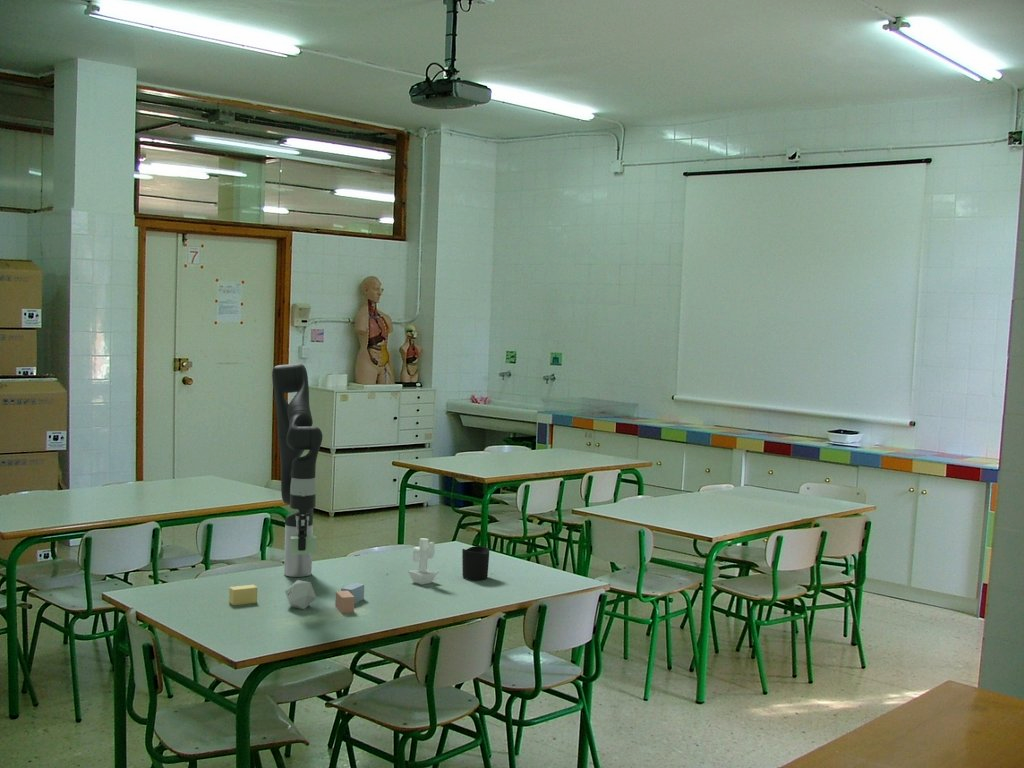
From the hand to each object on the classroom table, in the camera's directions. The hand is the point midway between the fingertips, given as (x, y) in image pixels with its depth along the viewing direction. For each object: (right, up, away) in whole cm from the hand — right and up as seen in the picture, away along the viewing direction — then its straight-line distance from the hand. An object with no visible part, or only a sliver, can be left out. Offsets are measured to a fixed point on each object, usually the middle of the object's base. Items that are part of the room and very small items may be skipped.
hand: (301, 548), depth 302 cm
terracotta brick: (+13, -19, 0) cm, 23 cm away
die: (-1, -18, +1) cm, 18 cm away
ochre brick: (-19, -17, +4) cm, 26 cm away
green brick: (+1, -1, 0) cm, 1 cm away
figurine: (+33, -18, +36) cm, 52 cm away
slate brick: (+14, -18, +9) cm, 25 cm away
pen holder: (+51, -18, +45) cm, 70 cm away
